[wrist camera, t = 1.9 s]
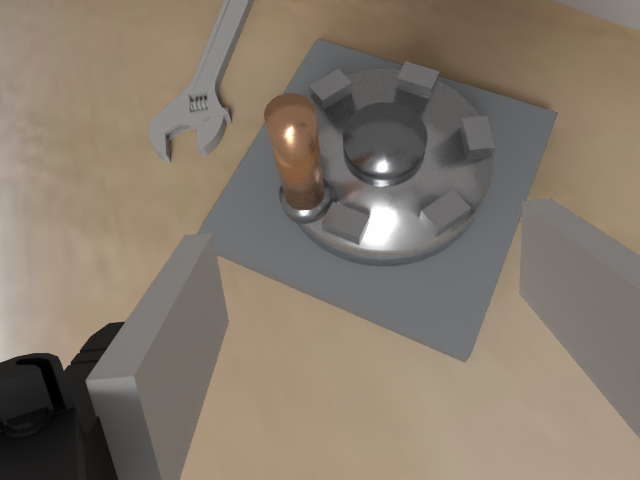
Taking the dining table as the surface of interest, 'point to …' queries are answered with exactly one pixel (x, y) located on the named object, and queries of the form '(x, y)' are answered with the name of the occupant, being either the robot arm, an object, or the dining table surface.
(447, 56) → the dining table surface
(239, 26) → the adjustable wrench
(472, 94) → the base plate
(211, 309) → the robot arm
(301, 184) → the metal rotary base
